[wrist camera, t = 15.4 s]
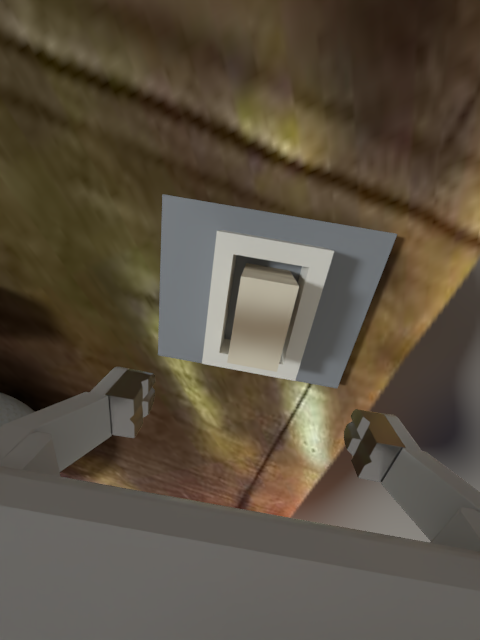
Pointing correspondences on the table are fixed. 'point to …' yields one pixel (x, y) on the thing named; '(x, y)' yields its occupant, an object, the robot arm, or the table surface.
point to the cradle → (271, 251)
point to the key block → (262, 316)
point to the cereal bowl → (12, 409)
